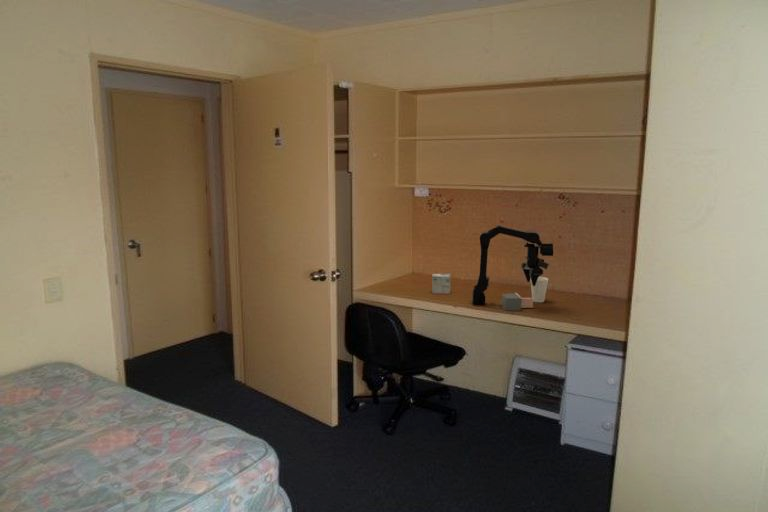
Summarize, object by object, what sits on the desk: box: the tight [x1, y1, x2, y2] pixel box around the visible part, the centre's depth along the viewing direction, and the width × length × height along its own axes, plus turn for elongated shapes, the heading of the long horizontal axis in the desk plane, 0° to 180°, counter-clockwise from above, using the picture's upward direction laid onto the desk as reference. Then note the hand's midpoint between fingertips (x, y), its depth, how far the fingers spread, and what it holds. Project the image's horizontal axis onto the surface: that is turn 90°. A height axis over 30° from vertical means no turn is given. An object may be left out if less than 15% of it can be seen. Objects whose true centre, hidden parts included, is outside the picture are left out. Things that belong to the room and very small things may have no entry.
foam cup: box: [529, 276, 549, 303], centre depth 307 cm, size 10×9×13 cm
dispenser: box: [500, 292, 523, 312], centre depth 293 cm, size 8×10×7 cm
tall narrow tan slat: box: [521, 297, 534, 309], centre depth 293 cm, size 10×2×5 cm, turn 91°
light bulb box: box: [431, 273, 451, 295], centre depth 326 cm, size 11×7×11 cm, turn 84°
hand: (531, 283), depth 294 cm, fingers open, 9 cm apart
